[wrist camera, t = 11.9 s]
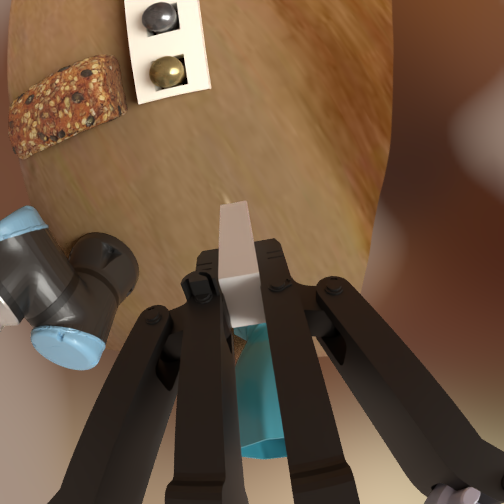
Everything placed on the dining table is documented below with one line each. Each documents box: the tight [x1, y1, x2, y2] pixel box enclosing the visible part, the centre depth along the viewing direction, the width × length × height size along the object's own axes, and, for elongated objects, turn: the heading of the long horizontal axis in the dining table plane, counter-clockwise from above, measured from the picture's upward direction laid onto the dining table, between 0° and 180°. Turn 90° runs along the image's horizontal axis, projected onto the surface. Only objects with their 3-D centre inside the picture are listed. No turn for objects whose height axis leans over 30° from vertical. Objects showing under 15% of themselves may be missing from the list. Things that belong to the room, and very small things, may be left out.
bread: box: [8, 54, 127, 159], centre depth 29 cm, size 19×11×10 cm, turn 97°
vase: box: [234, 323, 287, 459], centre depth 50 cm, size 17×17×30 cm
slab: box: [124, 0, 211, 104], centre depth 27 cm, size 10×24×4 cm, turn 7°
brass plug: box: [149, 56, 187, 88], centre depth 31 cm, size 4×4×6 cm
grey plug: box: [142, 2, 180, 34], centre depth 26 cm, size 4×4×6 cm
